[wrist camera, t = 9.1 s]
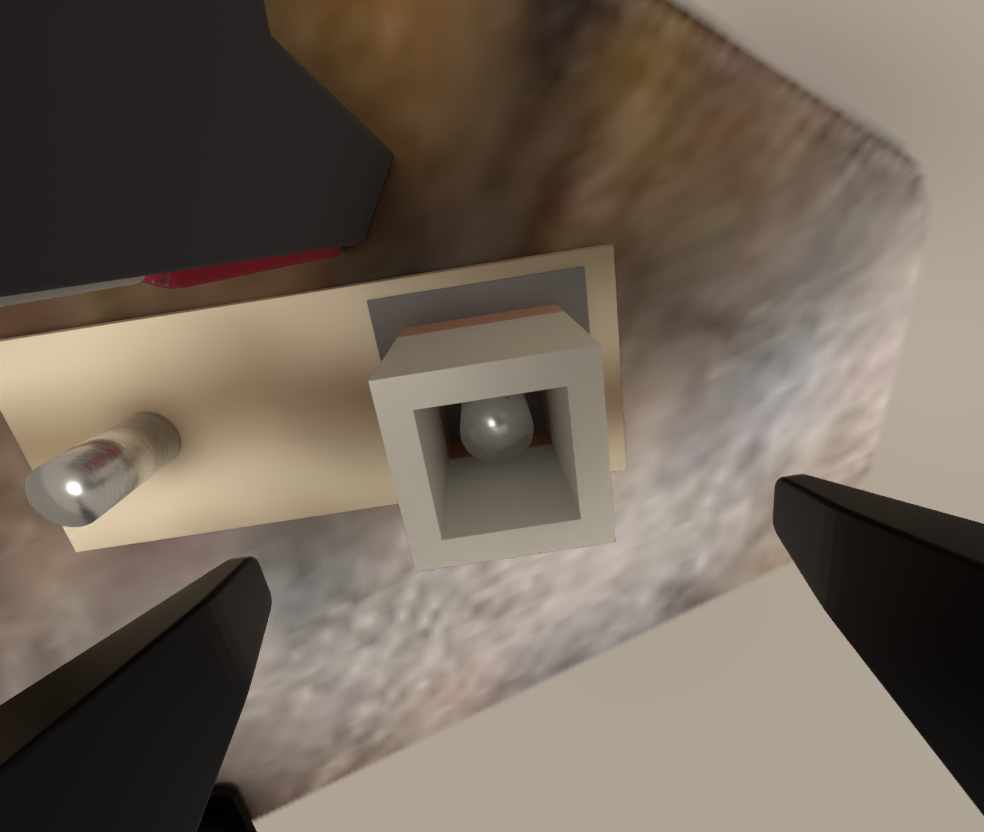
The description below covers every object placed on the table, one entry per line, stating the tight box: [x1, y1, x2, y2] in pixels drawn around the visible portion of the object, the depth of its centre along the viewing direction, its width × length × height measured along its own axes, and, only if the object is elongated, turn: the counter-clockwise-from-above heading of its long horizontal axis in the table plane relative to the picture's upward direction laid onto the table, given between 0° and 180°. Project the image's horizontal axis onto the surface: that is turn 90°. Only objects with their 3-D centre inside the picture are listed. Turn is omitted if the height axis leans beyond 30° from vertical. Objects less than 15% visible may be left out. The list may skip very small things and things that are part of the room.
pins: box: [25, 393, 534, 527], centre depth 16 cm, size 2×14×4 cm, turn 98°
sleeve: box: [368, 304, 616, 572], centre depth 14 cm, size 5×5×6 cm
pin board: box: [0, 244, 626, 552], centre depth 18 cm, size 8×21×1 cm, turn 98°
